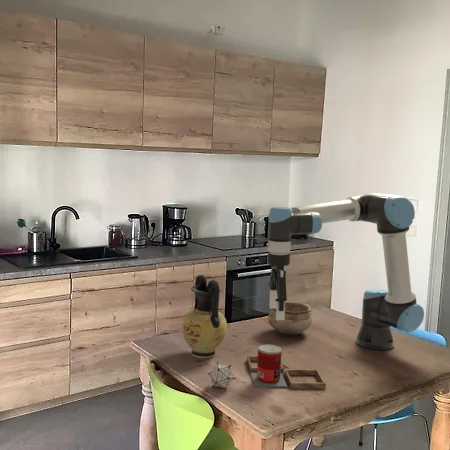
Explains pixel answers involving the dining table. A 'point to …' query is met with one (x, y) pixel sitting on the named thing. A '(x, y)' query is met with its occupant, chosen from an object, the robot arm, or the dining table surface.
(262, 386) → the slate board
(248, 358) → the frame
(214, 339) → the amphora
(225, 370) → the game die
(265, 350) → the canned food
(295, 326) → the cooking pot
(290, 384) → the empty crate
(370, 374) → the dining table surface
